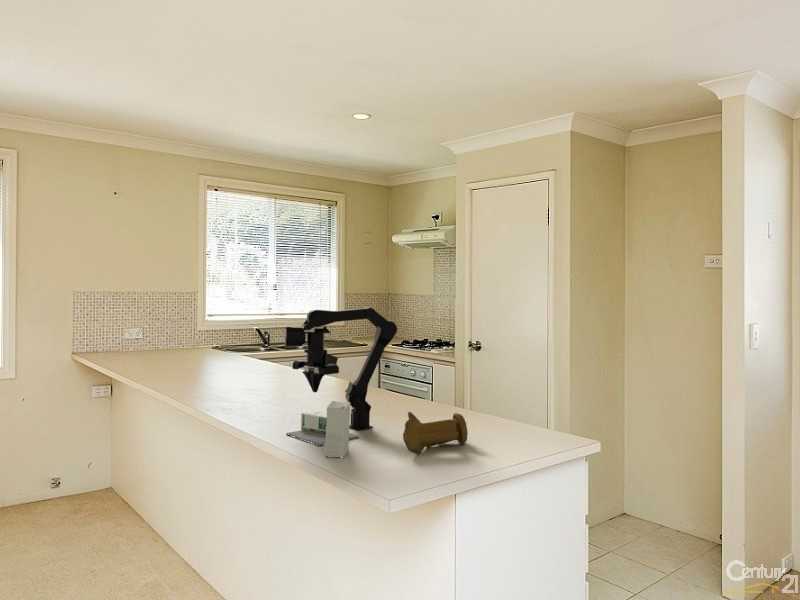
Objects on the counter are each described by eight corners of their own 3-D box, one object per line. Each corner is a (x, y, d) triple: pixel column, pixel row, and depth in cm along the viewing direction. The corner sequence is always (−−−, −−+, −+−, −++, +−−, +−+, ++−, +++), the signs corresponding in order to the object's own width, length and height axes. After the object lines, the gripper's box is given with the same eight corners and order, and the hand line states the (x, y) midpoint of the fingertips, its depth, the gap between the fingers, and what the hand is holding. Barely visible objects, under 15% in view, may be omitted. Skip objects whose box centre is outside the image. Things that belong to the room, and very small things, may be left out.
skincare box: (329, 449, 177) (330, 400, 176) (349, 450, 176) (350, 401, 176) (324, 458, 168) (325, 406, 168) (345, 458, 168) (346, 407, 168)
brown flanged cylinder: (389, 417, 190) (454, 404, 194) (397, 458, 187) (463, 444, 191) (398, 411, 172) (469, 397, 177) (406, 456, 169) (478, 441, 173)
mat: (359, 437, 191) (359, 435, 191) (319, 446, 180) (319, 444, 180) (325, 427, 204) (325, 425, 204) (286, 434, 193) (286, 433, 193)
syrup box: (300, 412, 198) (335, 418, 190) (311, 409, 203) (346, 415, 196) (300, 429, 198) (334, 436, 191) (311, 426, 203) (345, 432, 196)
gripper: (351, 347, 199) (351, 393, 200) (317, 342, 212) (316, 386, 213) (325, 349, 191) (325, 397, 192) (291, 344, 204) (291, 389, 205)
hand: (315, 392), depth 200 cm, fingers closed
